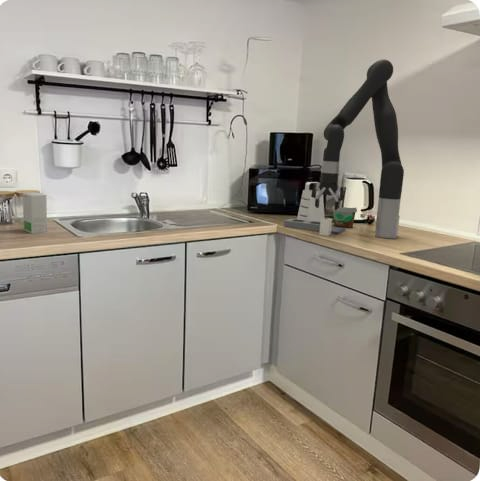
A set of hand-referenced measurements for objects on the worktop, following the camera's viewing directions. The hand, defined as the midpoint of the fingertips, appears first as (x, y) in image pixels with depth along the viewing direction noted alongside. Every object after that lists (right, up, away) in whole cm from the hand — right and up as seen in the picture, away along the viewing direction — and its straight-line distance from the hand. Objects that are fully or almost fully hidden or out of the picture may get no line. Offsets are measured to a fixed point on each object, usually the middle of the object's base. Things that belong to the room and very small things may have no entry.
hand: (326, 208), depth 200 cm
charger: (0, -11, +2) cm, 12 cm away
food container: (+12, -8, +22) cm, 26 cm away
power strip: (-6, -8, +16) cm, 19 cm away
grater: (-1, -4, +38) cm, 39 cm away
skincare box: (-122, -11, -15) cm, 123 cm away
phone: (+6, -10, +9) cm, 15 cm away
